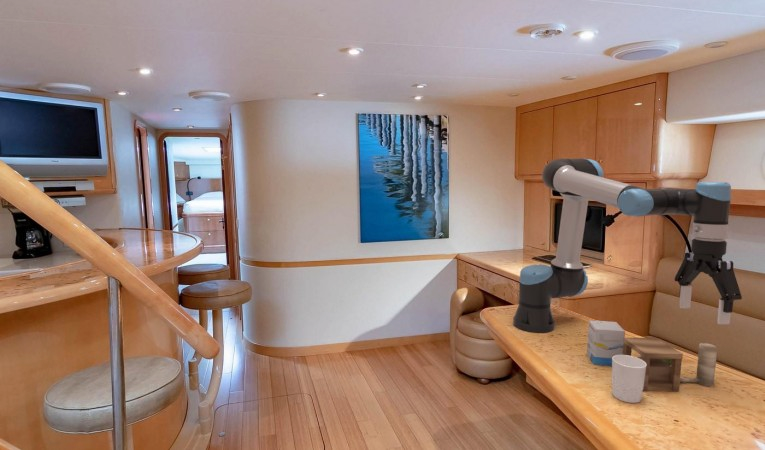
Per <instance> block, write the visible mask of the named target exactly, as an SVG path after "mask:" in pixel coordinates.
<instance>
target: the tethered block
mask: <svg viewBox="0 0 765 450" xmlns="http://www.w3.org/2000/svg"><path fill="white" fill-rule="evenodd" d="M717 353H718V347H717V346H716V345H714V344H711V343H708V342H707V343H706V342H705V343H704V342H700V343H699V345H698V355H697V356H698V357H697V366H696V377H694V378H693V377H690V378H689V377H680V383H683V382H684V383H697V384H699V385H701V386H704V387H714V383H715V373H716V366H717V365H716V364H717V356H718V355H717ZM637 358H639V359H640V358H641V356H639V357H638V356H637ZM670 374H671V364H667V363H665V362H664V361H663V360H661V359H660V358H650V365H649V377H648V382H670Z"/></svg>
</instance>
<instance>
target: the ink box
mask: <svg viewBox="0 0 765 450" xmlns="http://www.w3.org/2000/svg"><path fill="white" fill-rule="evenodd" d="M624 338H626V330H625V329H623V328H622V326H620V325H619V323H618V322H617V321H606V320H588V331H587V346H586V355H587V356H588V358H589V359H590V361H591V362H592V364H593V365H595V366H596V365H598V366H606V367H607V366H608V367H609V366H610V367H612V357H613V356H615V355H623V344H624V342H623V339H624Z"/></svg>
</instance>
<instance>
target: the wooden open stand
mask: <svg viewBox="0 0 765 450" xmlns="http://www.w3.org/2000/svg"><path fill="white" fill-rule="evenodd" d="M623 342H624V344H623V355H629V356H632V352H633V351H634V352H636V353H637V354H639V355H640V357H641V358H640V359H641V360H643V361H645V362H646V364H647V366H646V373H645V381H644V387H643V391H642V392H648V391H653V392H654V391H655V392H657V391H658V392H659V391H660V392H661V391H663V392H674V393H675V392H678V393H679V392H680V384H681V382H680V378H681V374H682V363H683V362H682V361H683V358H684V357H683V356H684V354H683V353H682V352H681V351H679V350H677V349H676V348H675V347H673V346H671V345H670V344H669V343H667V342H665V341H664V340H663V339H660V338H658V337H625V338H624V339H623ZM632 350H633V351H632ZM650 358H663V359H672V362H671V364H670V366H671V374H670V382H648V377H649V365H650Z"/></svg>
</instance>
